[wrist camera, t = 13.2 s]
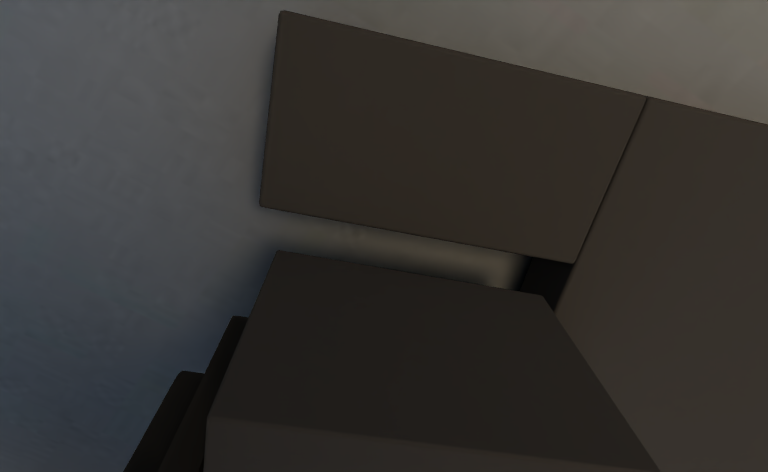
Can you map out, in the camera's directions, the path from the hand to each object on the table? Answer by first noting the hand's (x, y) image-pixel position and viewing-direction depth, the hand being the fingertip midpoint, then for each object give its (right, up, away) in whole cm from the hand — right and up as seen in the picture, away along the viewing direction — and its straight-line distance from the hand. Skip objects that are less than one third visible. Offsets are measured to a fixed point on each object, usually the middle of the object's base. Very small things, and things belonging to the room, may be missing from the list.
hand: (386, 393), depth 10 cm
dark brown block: (0, 0, +1) cm, 1 cm away
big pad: (+5, 0, +3) cm, 6 cm away
